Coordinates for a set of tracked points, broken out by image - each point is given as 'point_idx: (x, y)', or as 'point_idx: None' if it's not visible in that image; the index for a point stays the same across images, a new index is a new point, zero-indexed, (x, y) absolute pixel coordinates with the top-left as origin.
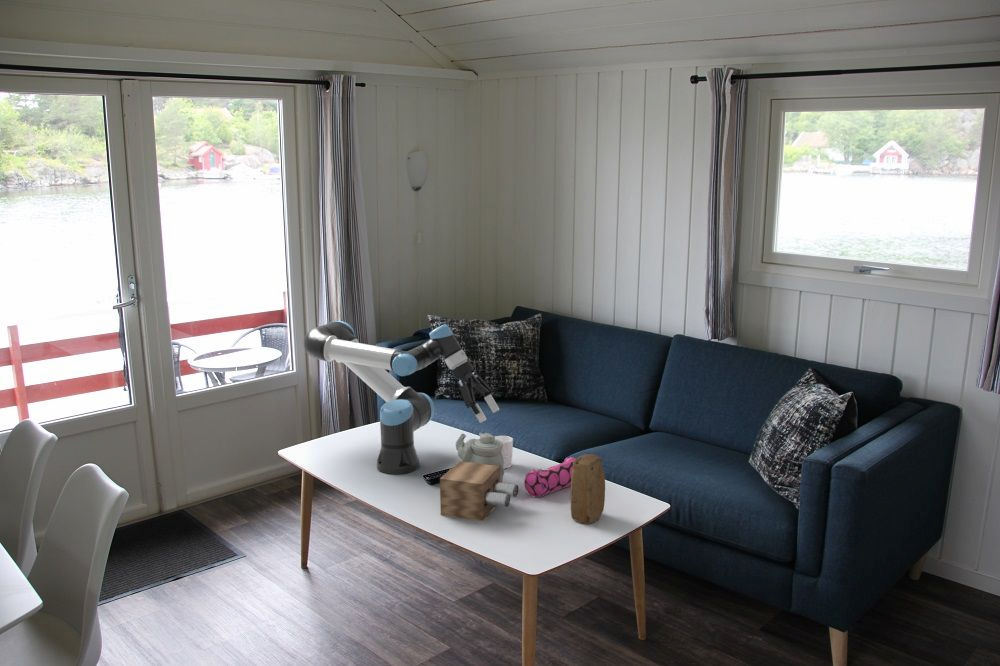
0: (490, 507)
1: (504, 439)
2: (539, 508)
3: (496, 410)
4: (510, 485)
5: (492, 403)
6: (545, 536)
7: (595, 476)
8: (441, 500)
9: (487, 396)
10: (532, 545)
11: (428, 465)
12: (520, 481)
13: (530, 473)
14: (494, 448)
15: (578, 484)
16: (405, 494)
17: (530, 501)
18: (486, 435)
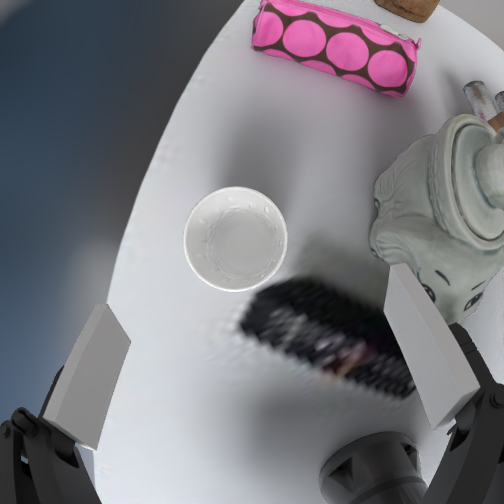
0: None
1: (193, 249)
2: (426, 68)
3: (114, 323)
4: (488, 93)
5: (93, 369)
6: (478, 55)
7: None
8: None
9: (75, 433)
10: (500, 69)
11: (338, 430)
12: (334, 139)
13: (414, 62)
14: (495, 133)
15: None
16: (493, 352)
17: (415, 87)
18: None
